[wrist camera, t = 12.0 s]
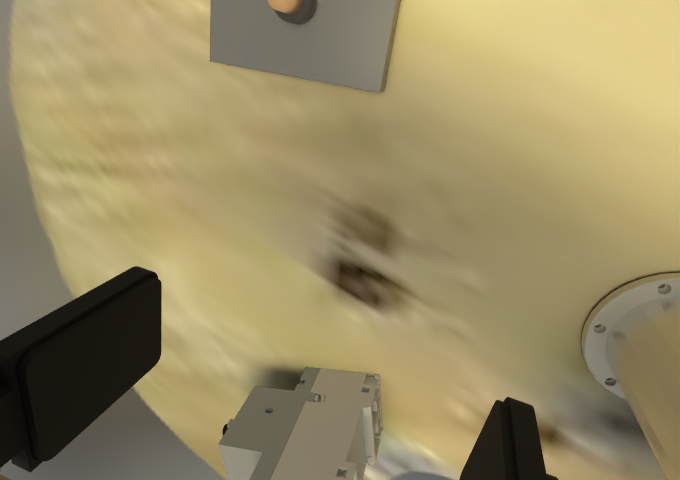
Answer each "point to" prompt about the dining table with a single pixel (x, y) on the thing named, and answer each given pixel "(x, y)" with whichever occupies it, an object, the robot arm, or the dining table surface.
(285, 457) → the circuit breaker
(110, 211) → the dining table surface
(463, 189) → the dining table surface
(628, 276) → the dining table surface
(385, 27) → the plate
